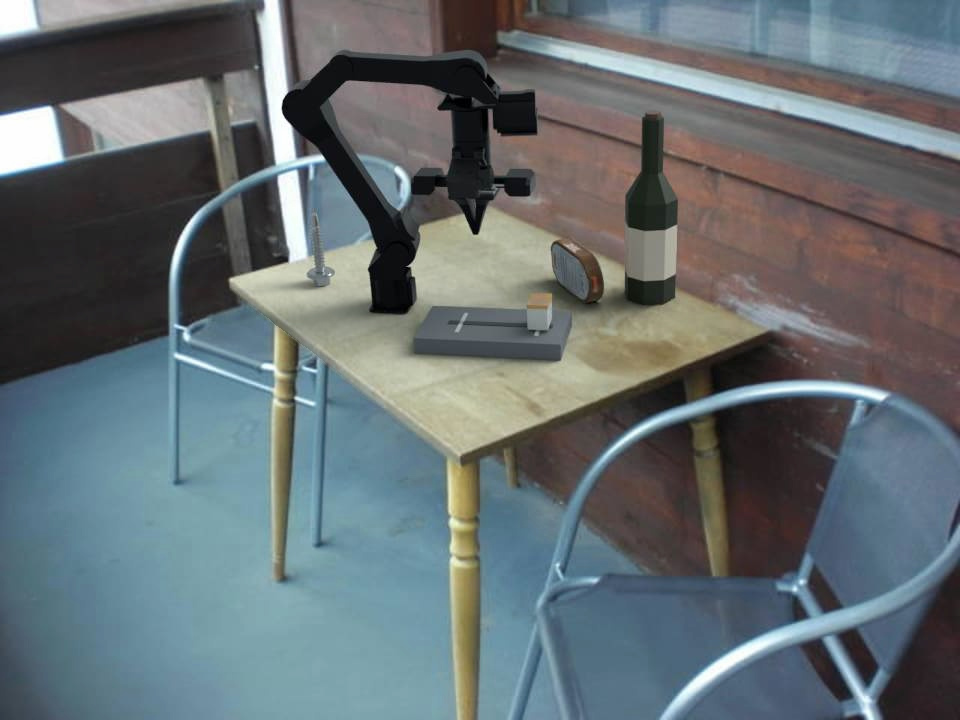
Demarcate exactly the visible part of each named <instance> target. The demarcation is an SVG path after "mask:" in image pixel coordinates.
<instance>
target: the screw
mask: <svg viewBox="0 0 960 720" xmlns="http://www.w3.org/2000/svg"><path fill="white" fill-rule="evenodd" d="M309 229H310V233H311V234H310V236H311V238H310V239H311V243H312V244H311V246H312V248H311V249H313V250H312V252H313V254H312V255H313V259H314V260H313V262H314V264H313V265H314V267H313V268H310V269H309V270H308V271H307V272H306V277H307V278H308V279H311V280H313V285H314V286H316V287H318V288H319V287H320V288H321V287H326V286H328V285H329V284H331V279H330V278H332V277H334V276H335V275H336V271H335V269H334V268H333V267H330V266H326V264H325V263H326V261H325V259H326V258H325V254H324V252H325V251H324V244H323V243H324V241H322V240H323V238H322V236H323V234H322V229H321V224H320V223H319V217H318V213H316V212H315V211H313V212H311V214H310V228H309Z"/></svg>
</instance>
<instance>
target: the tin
mask: <svg viewBox="0 0 960 720" xmlns="http://www.w3.org/2000/svg"><path fill="white" fill-rule="evenodd" d="M550 252H551V253H550V256H551V266H552V271H553V273H554V277H555V278H556V280H557V282H558V283H559V284H560V286H561V287H562V288H564V290H566V291H567V292H568V293H570V294H571V295H572V296H573V297H575V298H576V299H577V300H578V301H580V302H581V303H583V304H588V303H591V302H596V301H600V300H601V299H602V298H603V296H604V292H605V281H604V274H603V270H602V268H601V264H600V262H599V261H598V259H597V257H596V255H594V253H593V252H592V251H591V250H589V249H588V248H586V247H585V246H583V245H582V244H581V243H580V242H578V241H577V240H575V239H574V238H573V237H571V236H566V237H564V238H561V239H557V240H554V241H553V242H552V244H551V246H550Z"/></svg>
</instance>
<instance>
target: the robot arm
mask: <svg viewBox="0 0 960 720" xmlns="http://www.w3.org/2000/svg"><path fill="white" fill-rule="evenodd" d="M350 81H352V82H364V83H367V82H368V83H380V84H381V83H382V84H383V83H385V84H399V85H400V84H401V85H415V86H416V85H417V86H424V87H430V88H432V89H434V90H437V91H440V92H442V93H446V94H445V96H444V97H443V98H442V99H441V100H440V101H439V102H438V105H437V107H436V109H437V110H438V111H439V112H443V111H450V121H451V122H450V123H451V139H452V140H451V141H452V142H451V143H452V148H451V160H450V163H449V168H448V171H447V174H444V170H443V168H442V167H420V168H419V169H418V170H417V171H416V173H415V174H414V175H413V176H412V178H411V179H410V190H411V194H412V195H414V196H431V195H432V194H433V192H435V191H436V188H447V189H446V190H447V199H448V200H449V201H454V203H456V204H457V205H458V206H459V208H460V209H461V211H462V213H463V215H464V217H465V219H466V222H467V224H468V227H469V228H470V231H471V233H472V235H473V236H479V234H480V231H481V228H482V225H483V222H484V221H483V220H484V218H485V214H486V210H487V208H488V205H489V203H490V202H491V201H495V199H496V197H497V196H498V194H499V193H500V191H501V189H504V191H503V192H504V193H505V194H506V195H507V196H508V197H514V198H515V197H516V198H517V197H518V198H519V197H520V198H523V197H524V198H527V197H531V196H532V194H533V192H534V190H535V187H536V185H537V184H536V182H537V181H536V174H535V173H536V172H534V170H533V169H532V168H509V170H508V171H507V173H506V175H499V174H498V175H495V173H494V168H493V166H492V160H491V159H492V157H491V155H492V154H491V145H492V144H491V142H492V141H491V137H490V116H489V115H490V114H489V110H491V111H492V130H493V131H496V134H500V137H502V138H503V137H504V138H505V137H533V136H535V137H536V136H537V137H538V136H539V121H538V120H539V117H538V116H539V115H538V113H539V112H538V110H539V109H538V107H537V99H536V97H537V96H536V89H535V88H531V89H530V88H529V89H523V90H507V91H501V90H502V88H501V86H499V84H498V83H497V82H496V81H495V79H494V78H493V77H492V76H491V74H490V73H489V72H488V64H487V62H486V60H485V58H484V57H483V55H481V53H480V52H478V51H477V50H472V49H463V50H455V51H446V52H443V53H437V54H433V55H413V54H408V55H407V54H395V53H394V54H393V53H392V54H391V53H380V52H379V53H378V52H359V51H351V50H349V49H341V50H339V51H337V52H336V53H335V54H334V55H333V56H332V58H330V60H329V62H328V63H326V64H325V65H324V66H323V67H322V68H321V69H320V70H319V71H317V73H316V74H315V75H314V76H313V77H312V78H311V79H306V80H305V79H302V80H301V81H298V82H296V84H295V85H293V86H292V87H291V89H290V90H288V92H287V93H286V94H285V96H284V97H283V99H282V101H281V108H280V109H281V113H282V115H283V118H284V119H285V120H286V122H287V123H288V124H289V125H291V127H292V129H294V130H295V131H296V132H297V133H298V134H299V135H300V136H302V137H303V138H304V139H305V140H307V141H308V142H309V143H311V144H313V145H314V146H315V148H317V150H318V151H319V152H320V154H321V155H322V156H323V158H324V160H325V161H326V163H327V164H328V166H329V167H330V168H331V170H332V171H333V173H334V175H335V176H336V177H337V179H338V180H339V181H340V183H341V184H342V186H343V188H344V189H345V191H346V192H347V193H348V195H349V196H350V197H351V199H352V200H353V202H354V204H356V206H357V208H358V210H359V211H360V212H361V214H362V215H363V217H364V218H365V220H366V222H367V223H368V225H369V230H370V233H371V237H372V239H373V242H374V246H375V247H376V248H375V249H374V252H373V254H372V257H371V260H370V262H369V265H368V267H367V271H368V274H369V275H368V276H369V283H370V284H369V285H370V293H371V294H370V296H371V305H370V307H369V308H368V310H369V312H370V313H387V314H388V313H389V314H391V313H392V314H408V313H409V311H410V310H411V309H412V307H413V306H414V305H415V303H416V302H417V299H418V296H417V285H416V284H417V283H416V277H415V276H414V275H413V273H412V271H413V270H412V266H410V265H412V264H413V262H414V260H415V259H416V257H417V253H418V250H419V247H420V244H421V243H420V242H421V234H420V233H421V232H420V231H419V229H420V226H421V225H420V224H419V223H418V222H416V220H415V219H414V218H413V217H412V214H411V213H410V211H409V209H408V207H407V206H404V207H403V208H401V209H400V210H399V209H398V208H396V207H395V206H393V205H392V204H391V203H390V202H389V200H387V198H386V196H385V195H384V193H383V192H382V190H381V189H380V188H379V186H378V185H377V183H376V181H375V180H374V178H373V177H372V176H371V174H370V173H369V171H368V170H367V168H366V167H365V165H364V163H363V162H362V161H361V160H360V157H359V156H358V155H357V154H356V152H355V151H354V149H353V148H352V145H350V143H349V141H348V140H347V139H346V137H345V135H344V134H343V133H342V131H341V129H340V127H339V123H338V120H337V118H336V113H335V110H334V108H333V105H332V103H331V102H330V101H331V100H330V98H331V96H333V95H334V94H335V93H336V92H337V91H338V89H340V88H341V87H342V86H343V85H344V84H345V83H346V82H350Z"/></svg>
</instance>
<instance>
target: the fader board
mask: <svg viewBox="0 0 960 720" xmlns="http://www.w3.org/2000/svg"><path fill="white" fill-rule="evenodd" d="M572 316H573V314H572V310H554V309H552V320H551V323H550V325H549V328H548V330H528V325H527V308H525V309H524V308H506V307H505V308H503V307H477V306H476V307H475V306H451V305H450V306H449V305H431V308H430V309H429V311H428V312H427V314H426V316H425V317H424V319H423V320H422V321H423V322H422V323H421V324H420V326H419V328H418V330H417V331H416V333H415V335H414V336H413V338H412V339H413V351H414V354H421V355H423V354H425V355H444V356H445V355H446V356H464V357H465V356H466V357H488V358H490V357H491V358H510V359H527V360H528V359H529V360H530V359H531V360H548V361H550V360H552V361H562V358H563V355H564V352H565V349H566V345H567V341H568V340H569V336H570V333H571V329H572V327H573V324H572V322H573V321H572V320H573V318H572Z"/></svg>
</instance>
